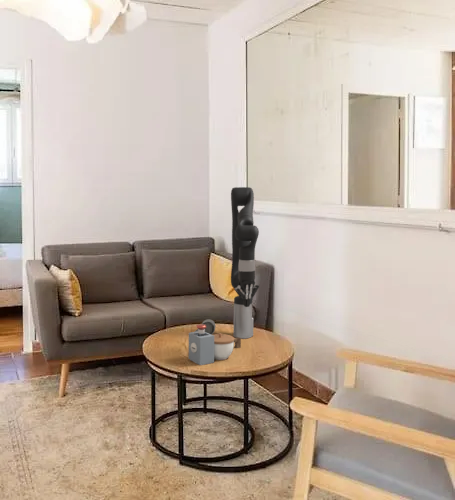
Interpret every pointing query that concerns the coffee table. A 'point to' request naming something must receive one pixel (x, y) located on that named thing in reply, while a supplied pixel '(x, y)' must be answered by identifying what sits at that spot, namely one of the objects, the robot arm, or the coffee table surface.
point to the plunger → (201, 329)
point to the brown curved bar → (237, 342)
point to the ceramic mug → (209, 326)
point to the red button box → (201, 348)
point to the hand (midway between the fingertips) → (246, 306)
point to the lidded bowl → (223, 346)
